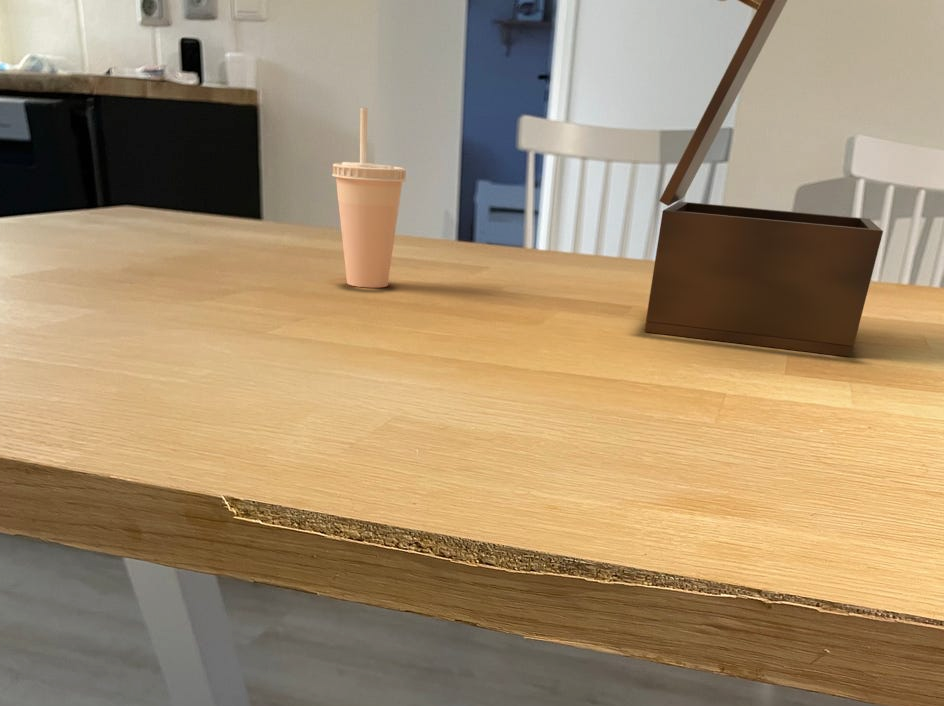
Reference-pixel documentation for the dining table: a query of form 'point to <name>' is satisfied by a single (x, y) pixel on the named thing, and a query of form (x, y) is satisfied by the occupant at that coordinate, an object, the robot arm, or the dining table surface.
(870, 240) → the chest
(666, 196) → the lid
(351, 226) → the smoothie
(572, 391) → the dining table surface
